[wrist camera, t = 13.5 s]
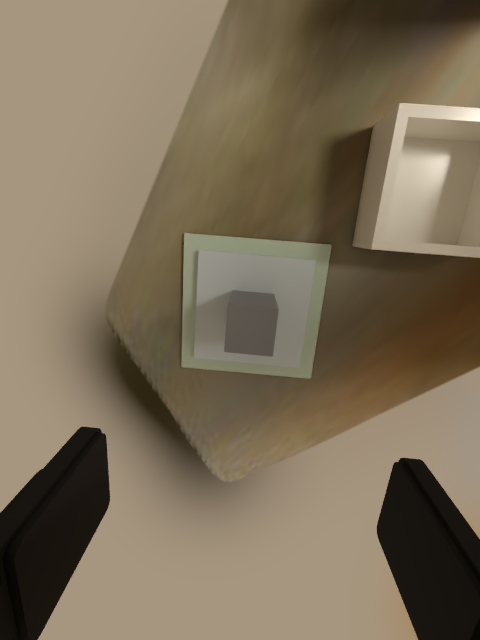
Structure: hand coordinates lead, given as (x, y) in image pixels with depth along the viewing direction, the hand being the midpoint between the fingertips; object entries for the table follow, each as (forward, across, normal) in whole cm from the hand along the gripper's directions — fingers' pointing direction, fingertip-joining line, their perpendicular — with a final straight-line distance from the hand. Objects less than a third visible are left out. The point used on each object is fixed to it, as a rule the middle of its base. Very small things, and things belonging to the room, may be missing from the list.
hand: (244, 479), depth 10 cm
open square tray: (+22, -14, -12) cm, 29 cm away
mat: (+22, 0, 0) cm, 22 cm away
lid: (+22, 0, 0) cm, 22 cm away
